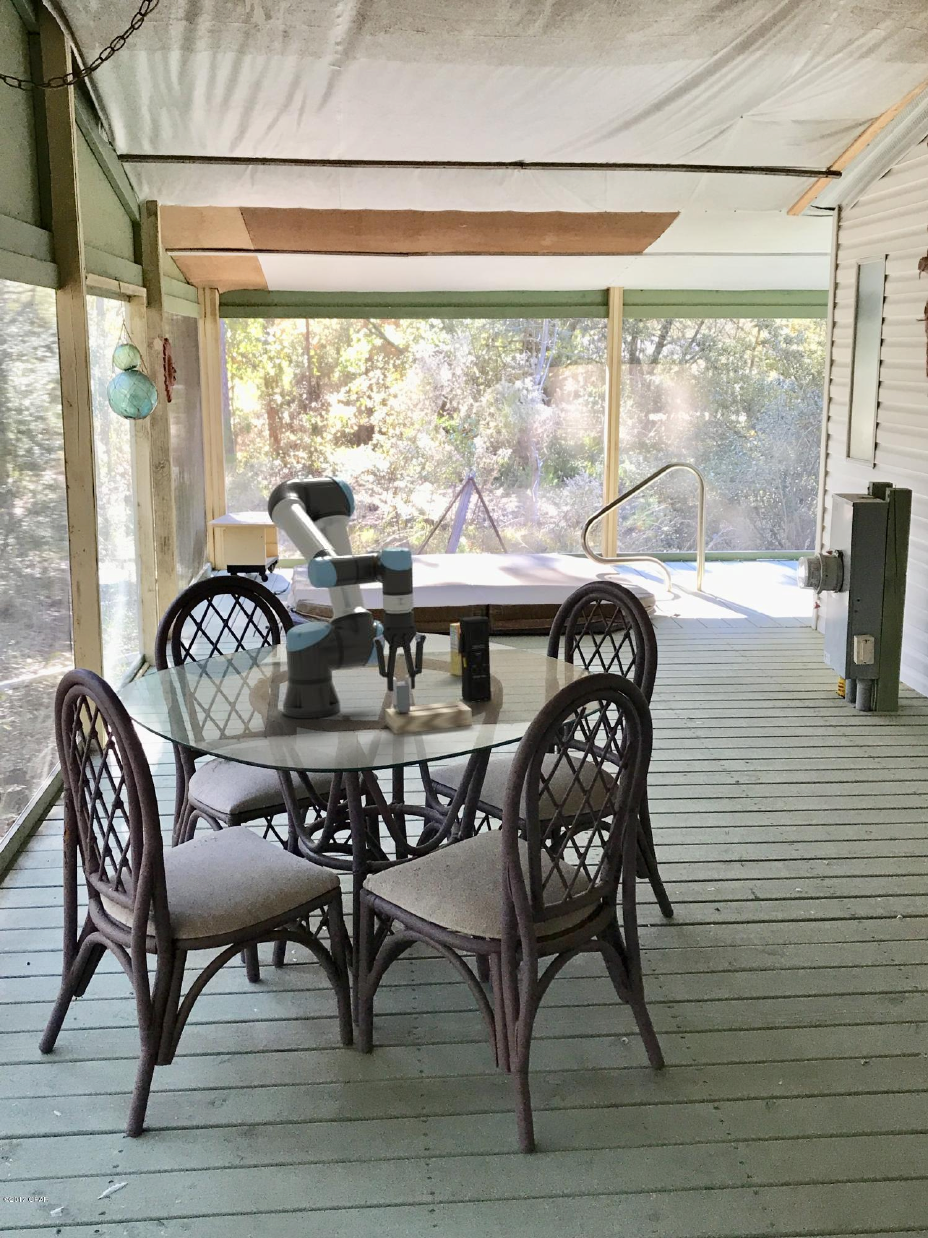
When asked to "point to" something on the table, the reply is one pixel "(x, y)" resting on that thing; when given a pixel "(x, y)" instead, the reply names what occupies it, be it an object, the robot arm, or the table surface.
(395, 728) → the wooden block with slot
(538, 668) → the table surface
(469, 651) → the portable radio
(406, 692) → the blue-grey rectangular block
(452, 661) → the candy box
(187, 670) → the table surface
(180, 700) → the table surface
